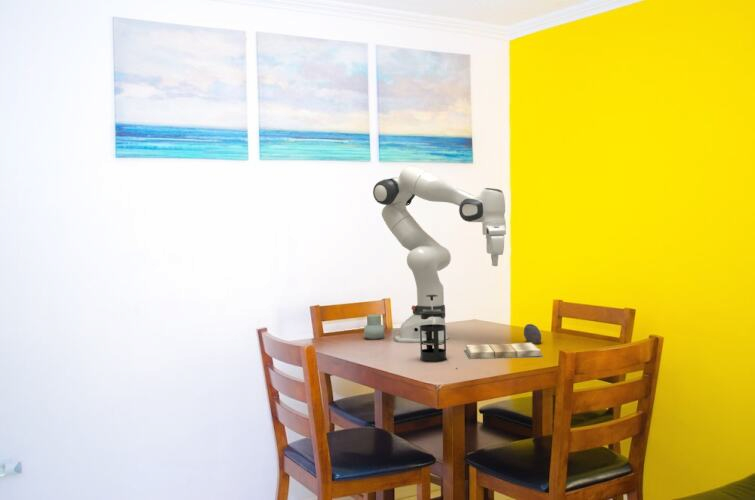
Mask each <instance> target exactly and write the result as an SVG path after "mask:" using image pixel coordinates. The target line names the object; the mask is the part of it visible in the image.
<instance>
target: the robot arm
mask: <svg viewBox="0 0 755 500" xmlns="http://www.w3.org/2000/svg"><path fill="white" fill-rule="evenodd" d="M372 195H373V198H374V200H375V201H376V203H378V204H380V205H384V206H383V208H382V210H381V217H382V219H383V221H384V222H385V224H386V226H387V228H388V229H389V231H390V232H391V233H392V235H393V237H395V238H396V240H397V241H398V242H399V243H400V245H401V246H402V247H403V248H405V249H406V250H408V251H409V253H408V254H407V256H406V263H407V266H408V268H409V269H410V270H411V272H412V275H413V277H414V281H415V285H416V297H417V299H416V301H417V305H412V306H411V310H412V315H411V316H409V317H408V318H407V319H406V320H405V321H403V322H402V324H401V325H400V329H399V334H396V335H395V336H394V341H396V342H398V343H403V342H404V343H420V326H421V325H427V324H432V317H429V318H428V319H421V314H420V312H423V311H430V310H432V304H433V310H437V311H444V312H445V313H444V318H441V317H433V324H440V325H445V333H446V340H448V339H449V338H450V337H449V334H448V332H447V331H448V330H447V326H446V306H445V303H444V302H445V299H444V297H445V295H444V285H443V283H442V282H441V281H440V277H439V274H438V272H439V271H441V270H443V269H445V268H447V267H448V266H449V264H451V260H452V256H451V251H450V250H449V249H448V248H446V247H445V246H443V245H441V244H440V243H439V242H438V241H436V240H435V239H434V238H433V237H432V236H431V235H429V234H428V232H426V231H425V230H424V229H423V227H422V226H420V224H419V223H418V222H417V220H416V219H415V218H414V217H413V216H412V214H411V213H410V212H409V211H408V208H407V206H409V205H411V204H412V201H413V199H414V198H415V196H416V197H417V198H420V199H422V200H425V201H429V202H434V203H435V202H436V203H438V202H439V203H449V204H454V205H456V206H458V211H459V212H458V213H459V215H460V218H461V219H462V220H463V221H465V222H468V223H482V226H481V227H482V235H483V236H485V240H486V253H487V254H489V255H490V257H491V265H492V266H493V267H498V265H499V256H502V255H504V251H505V248H504V247H505V235H506V234H507V231H506V229H507V228H506V226H507V225H506V219H505V213H506V200H505V199H506V198H505V195H504V192H503V191H502V189H499V188H491V187H486V188H483V189H482V190H481V191H480V192H479V193H477V194H475V195H473V194H471V193H468V192H466V191H464V190H462V189H459V188H457V187H455V186H453V185H452V184H451V183H449V182H447V181H445V180H443V179H442V178H440V176H437V175H435V174H433V173H432V172H430V171H427V170H425V169H422V168H420V167H416V166H412V165H410V166H409V165H408V166H405V167H404V168H403V169H402V170H401V172H400V173H399V176H398V177H391V178H386V179H385V178H384V179H382V180H379V181H378V182H377V183H375V185H374V187H373V190H372ZM427 295H437V296H436V297H433V301H432V304H431V298H430V297H426V296H427ZM433 338H434V337H433ZM425 340H426V331H422V341H425ZM438 340H443V341H444V331H438Z"/></svg>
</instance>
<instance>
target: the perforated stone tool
mask: <svg viewBox="0 0 755 500" xmlns="http://www.w3.org/2000/svg"><path fill="white" fill-rule="evenodd" d="M523 336H524V339H525V340H526V342H527V343H532V344H534V345H540V344H541V341H542V333H541V331H540V329H539V327H537V326H536V325H534V324H532V323H528V324H526V325H525V326H524V328H523Z"/></svg>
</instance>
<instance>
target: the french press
mask: <svg viewBox="0 0 755 500" xmlns="http://www.w3.org/2000/svg"><path fill="white" fill-rule="evenodd" d="M436 296H437V295H427V296H426V297H430V298H431V304H432V301H433V297H436ZM444 313H445V314H446V311H445V312H444V311H437V310H433V304H432V310H430V311H423V312H420V314H421V319H428V318H429V317H432V324H427V325H421V326H420V342H419V344H420V346H419V347H420V359H419V360H420V361H421V362H424V363H442V362H446V361H447V360H448V359H447V345H446V344H447V339H446V333H445V325H446V324H445V325H440V324H433V317H441V318H444ZM422 331H426V340H425V341H422ZM438 331H444V340H438ZM433 337H434V338H433ZM423 345H424V346H426V348H424V349H423ZM440 345H443V347H444V348H440V347H439V346H440Z"/></svg>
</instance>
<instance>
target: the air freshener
mask: <svg viewBox="0 0 755 500" xmlns="http://www.w3.org/2000/svg"><path fill="white" fill-rule="evenodd" d="M363 331H364V332H363V333H364V338H366V339H367V340H381V339H383V338H385V325H383V324H382V316H381V314H376V313H375V314H373V313H372V314H368V315H366V325H365V326H364V329H363Z"/></svg>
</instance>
